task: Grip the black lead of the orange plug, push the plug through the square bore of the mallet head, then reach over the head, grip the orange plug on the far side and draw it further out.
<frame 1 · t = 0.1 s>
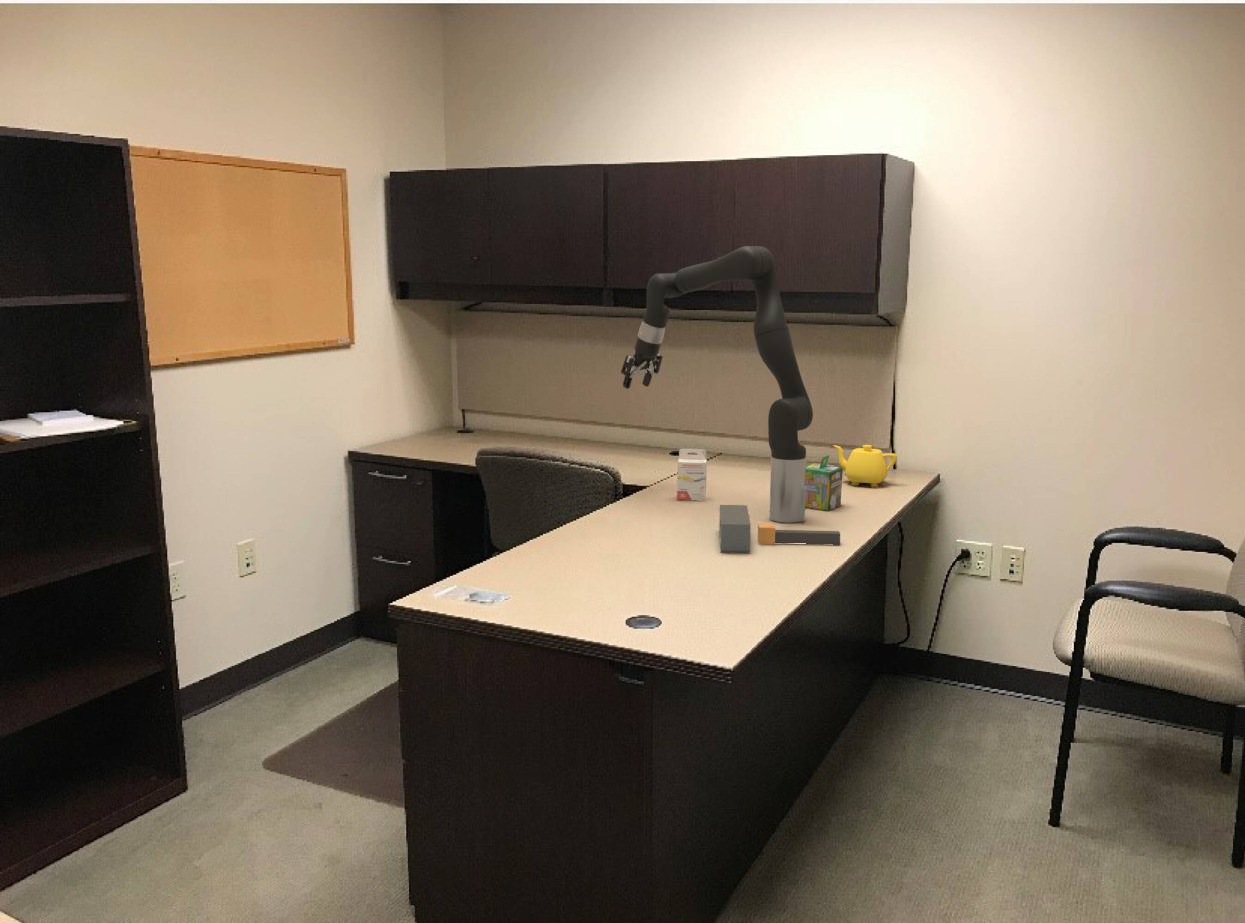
hand: (635, 386, 310), 31 cm above the table, tool tilted 20°, fingers open, 8 cm apart
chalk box: (820, 507, 292), on the table
mallet head: (733, 541, 255), on the table
ink cartridge box: (691, 499, 301), on the table
teapot: (863, 484, 322), on the table
plug: (766, 542, 255), on the table
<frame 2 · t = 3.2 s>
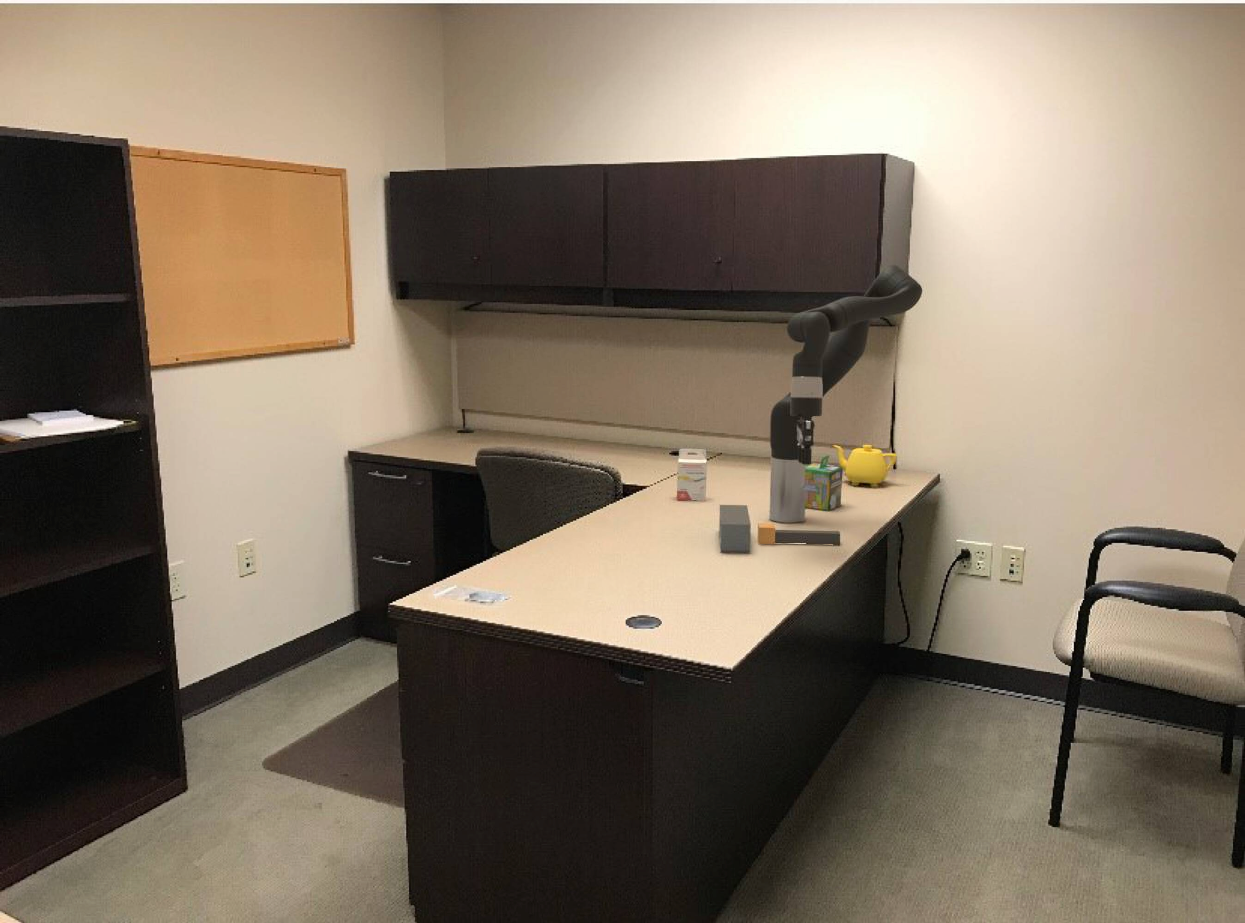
hand: (804, 463, 245), 21 cm above the table, tool pointing down, fingers open, 8 cm apart
nothing on the table moved.
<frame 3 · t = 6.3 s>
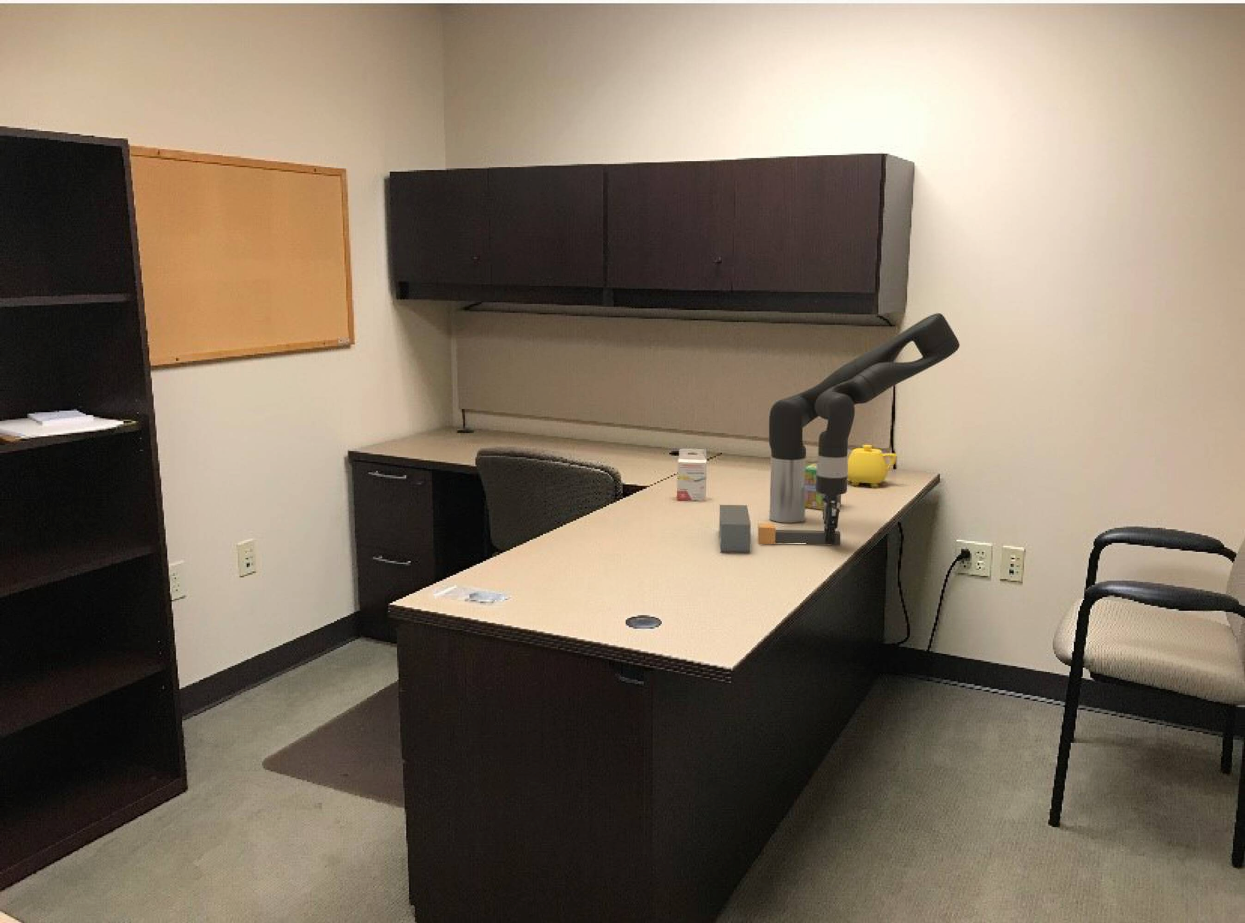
hand: (829, 541, 253), 1 cm above the table, tool pointing down, fingers closed on plug, 2 cm apart
plug: (766, 542, 254), on the table, touching gripper
everything else where it was.
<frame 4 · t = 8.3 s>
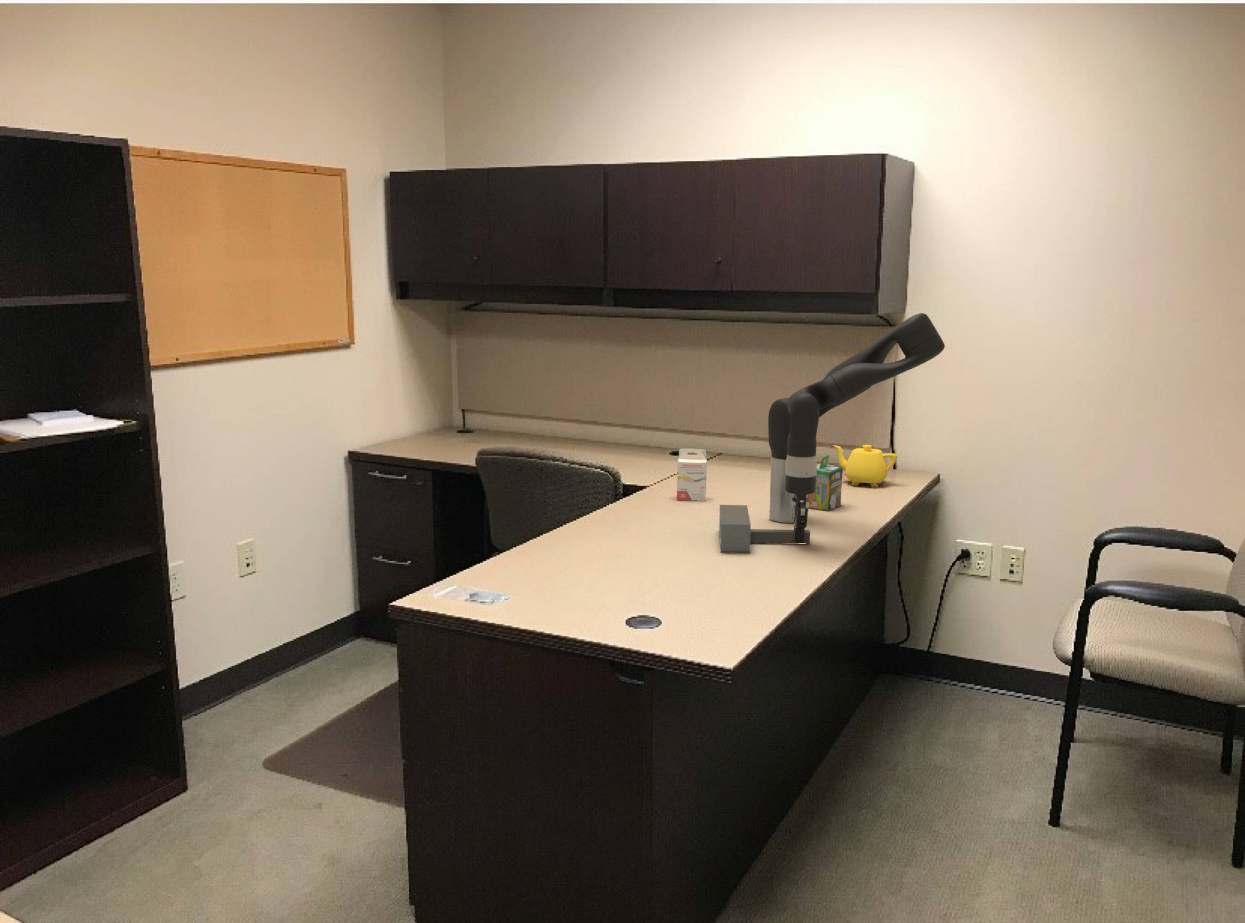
hand: (798, 540, 254), 1 cm above the table, tool pointing down, fingers closed on plug, 2 cm apart
plug: (736, 541, 255), on the table, touching gripper
everything else where it was.
when the fingers open (1 cm above the table, at t = 10.3 s): plug stays where it is, on the table.
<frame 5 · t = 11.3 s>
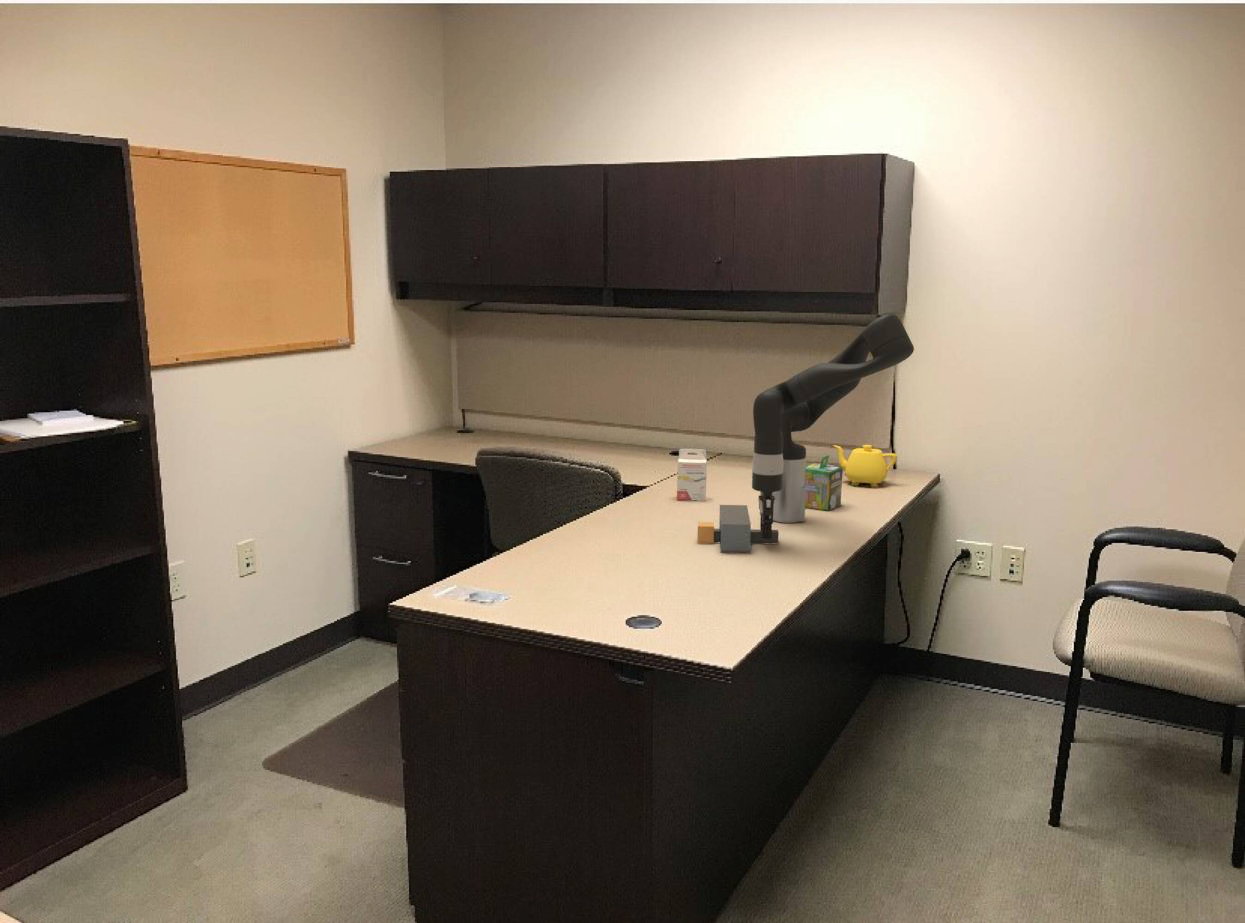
hand: (765, 534, 254), 2 cm above the table, tool pointing down, fingers open, 8 cm apart
plug: (705, 541, 256), on the table
everything else where it was.
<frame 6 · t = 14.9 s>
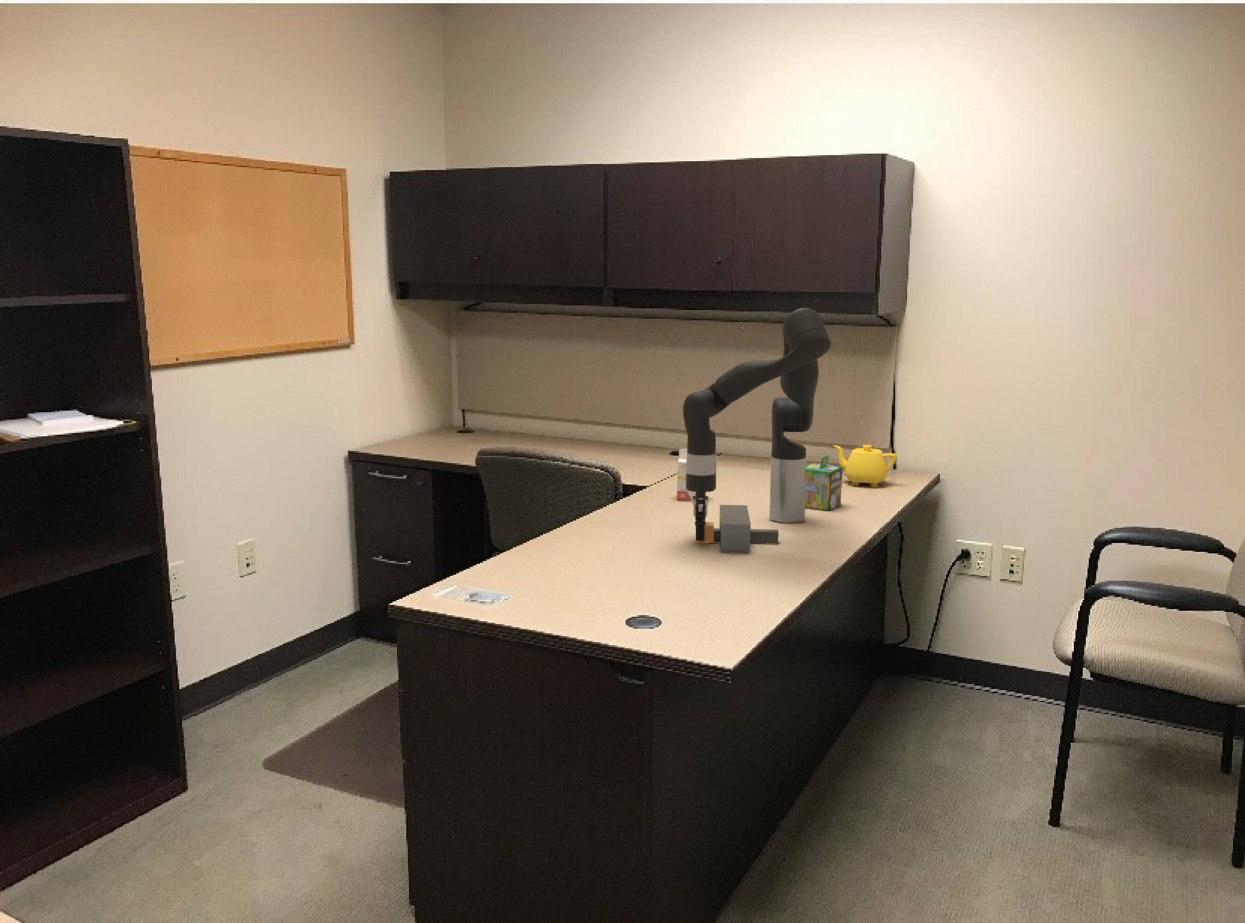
hand: (699, 537, 256), 1 cm above the table, tool pointing down, fingers closed on plug, 4 cm apart
plug: (705, 541, 256), on the table, touching gripper
everything else where it was.
when the fingers open (1 cm above the table, at t = 16.8 s): plug stays where it is, on the table.
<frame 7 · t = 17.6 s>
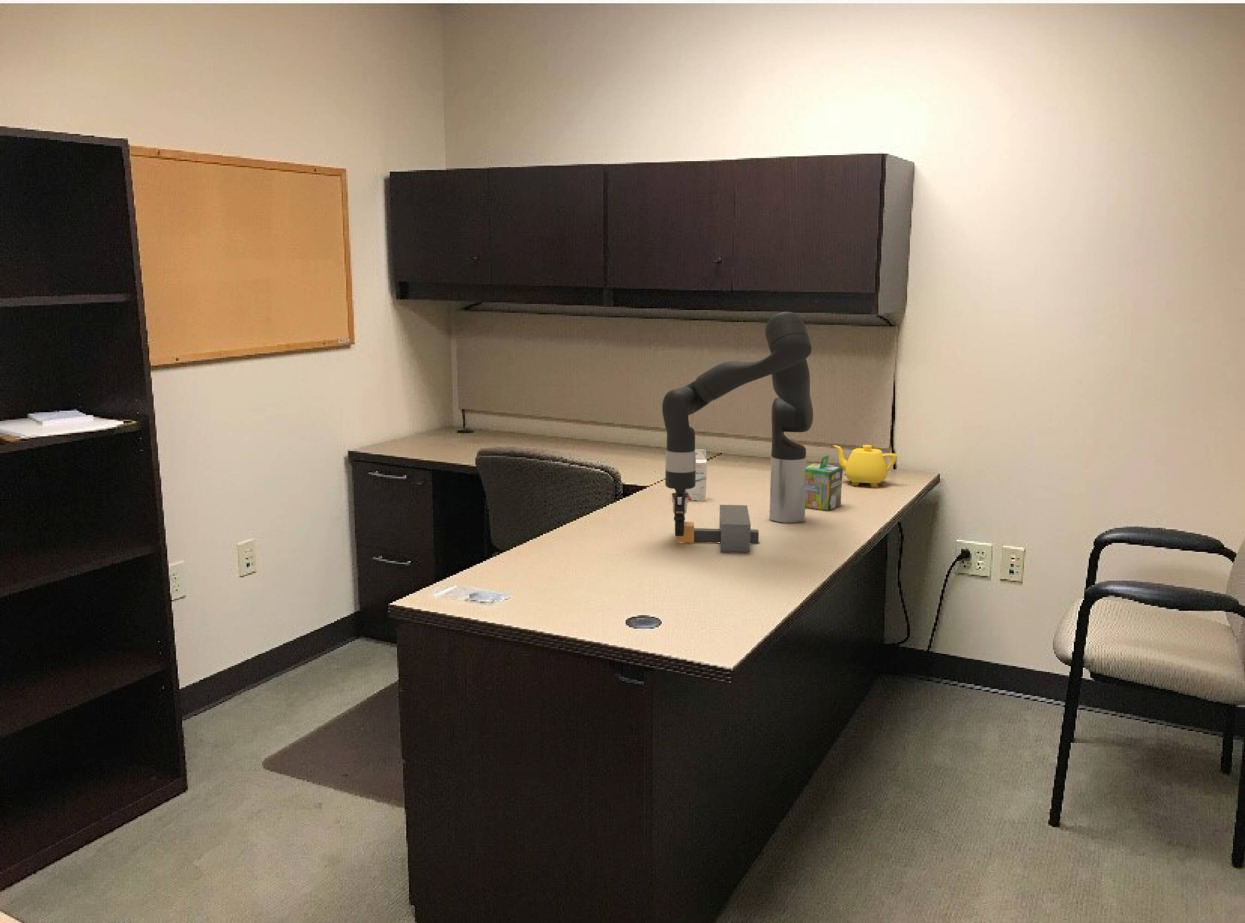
hand: (679, 531, 256), 2 cm above the table, tool pointing down, fingers open, 8 cm apart
plug: (685, 540, 256), on the table
everything else where it was.
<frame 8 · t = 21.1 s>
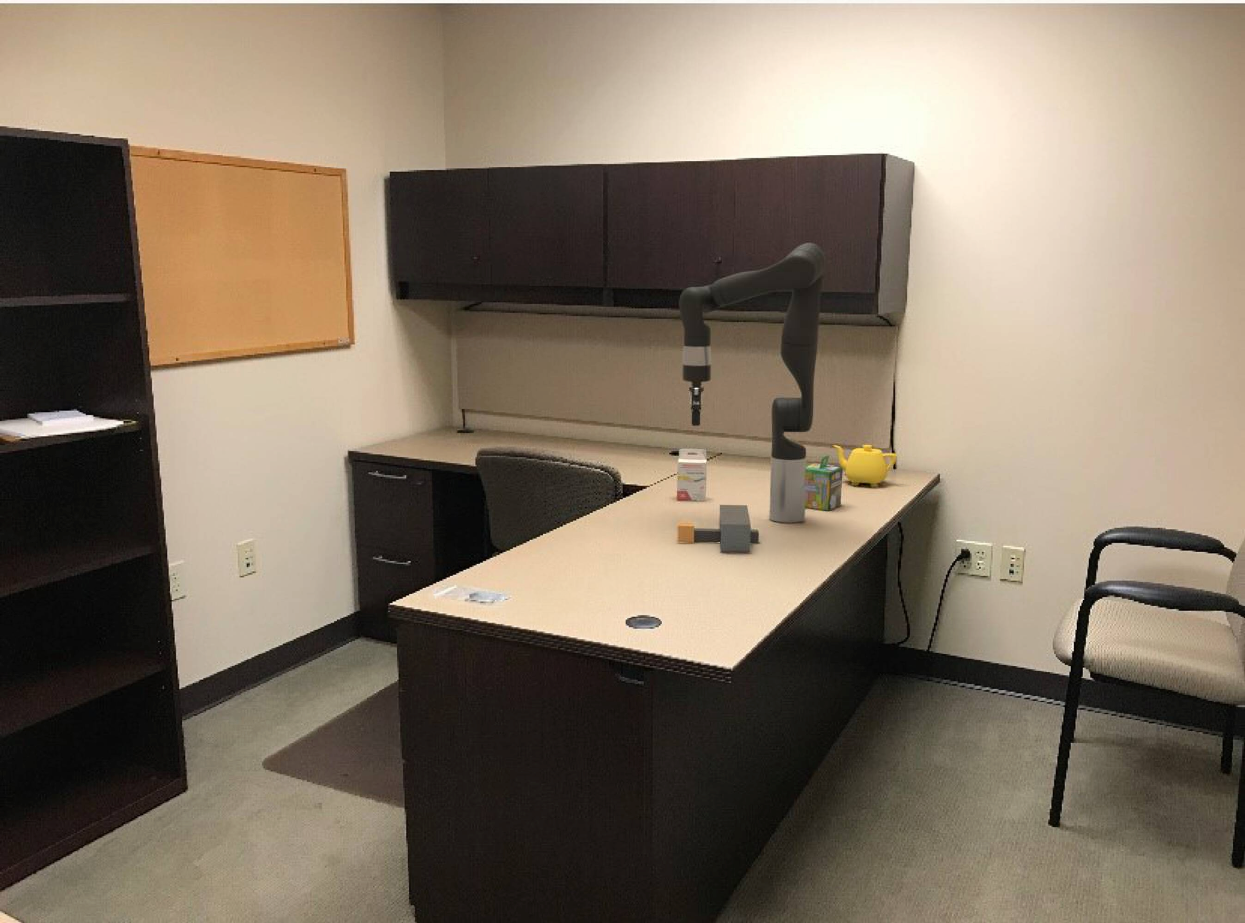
hand: (695, 423, 274), 26 cm above the table, tool pointing down, fingers open, 8 cm apart
nothing on the table moved.
at the end: plug 0.5 cm from the target spot on the table beside the mallet head, on the table; the gripper is holding nothing; plug tilted 0° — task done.
